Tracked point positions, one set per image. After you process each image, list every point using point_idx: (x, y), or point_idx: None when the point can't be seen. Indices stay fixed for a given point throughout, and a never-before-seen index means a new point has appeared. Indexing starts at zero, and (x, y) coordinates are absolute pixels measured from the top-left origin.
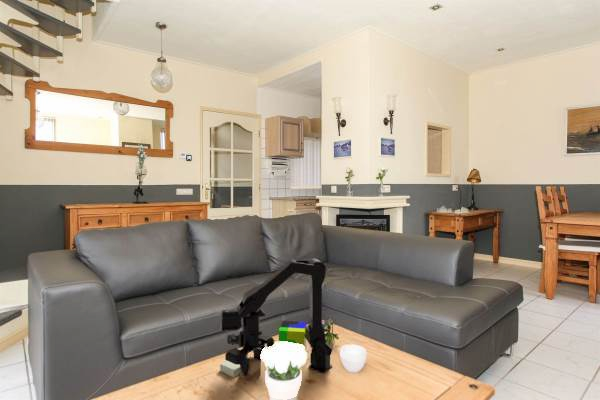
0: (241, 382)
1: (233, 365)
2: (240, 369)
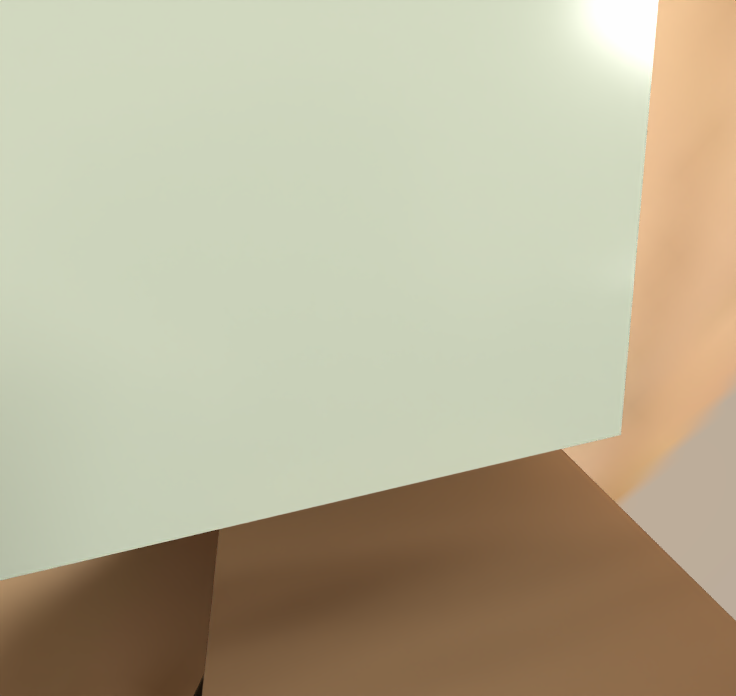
0: (118, 659)
1: (121, 312)
2: (214, 599)
